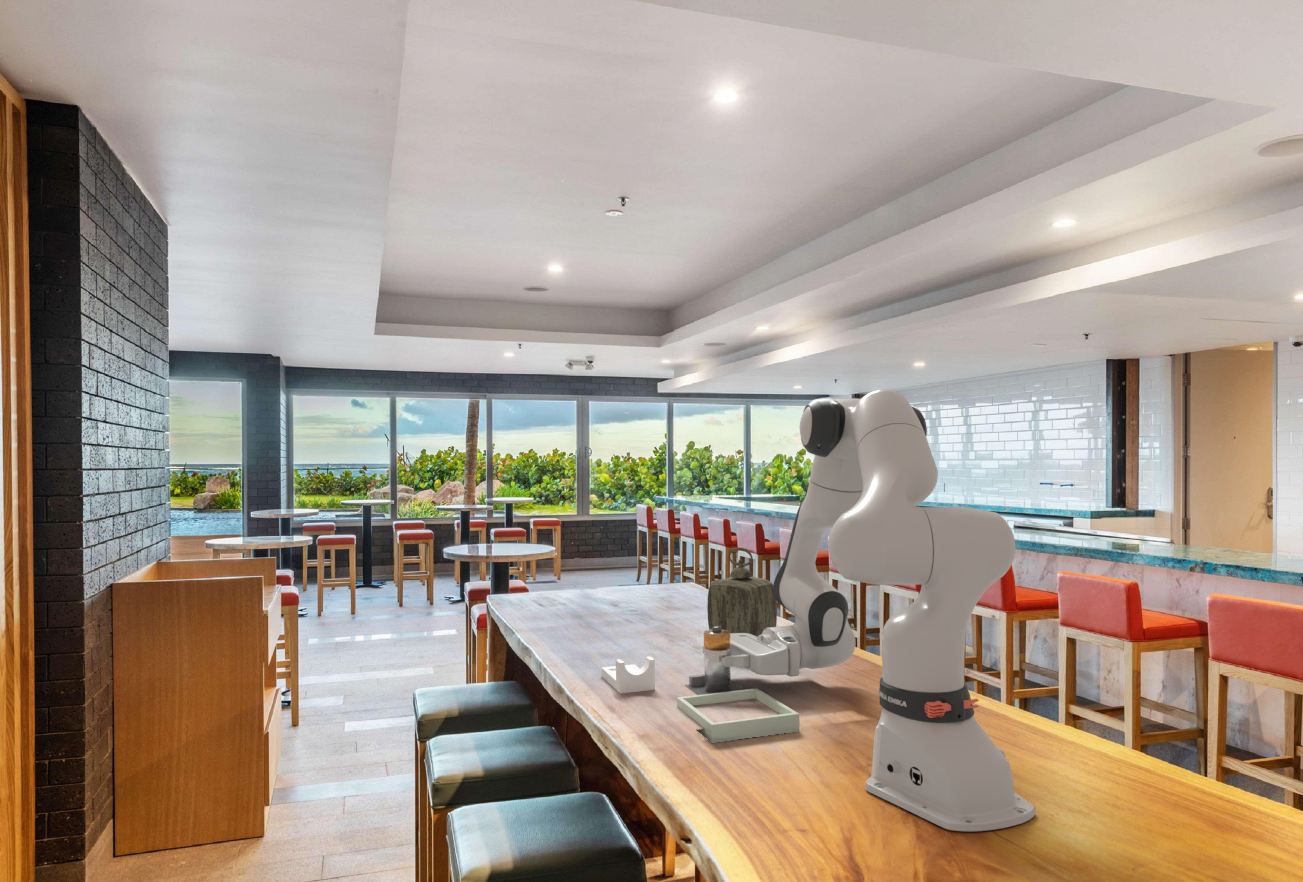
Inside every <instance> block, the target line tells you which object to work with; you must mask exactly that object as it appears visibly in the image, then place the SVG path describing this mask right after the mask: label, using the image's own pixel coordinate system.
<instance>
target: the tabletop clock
mask: <svg viewBox="0 0 1303 882" xmlns="http://www.w3.org/2000/svg"><path fill="white" fill-rule="evenodd" d="M736 551H737V552H738V551H739V552H745V553H747V554H748V555H749V557H750V560H749V561H748V562H745V563H743V562H744V561H743V559H738V561H734V560H733V559H732V558H731V556H732V554H733V552H736ZM753 559H754V558H753V554H752V553H751V552H750V550H749V549H747V548H744V547H735V548H732V549H731V550H730V551H729V553H728V560H729V562H730V563H731V564H733V565H735V566H736V567H733V569H732V570H731V572H730V575H729V577H727V578H721V579H716V580H713V581H712V582H711V584H710V585H709V588H708V592H707V606H706V607H707V608H706V609H707V623H708V624H707V625H708V630H711V629H712V627H713V626H721V627H722V630H728V631H730V633H749V634H752V635H754V636H757V637H758V636H759V635H762V632H763V631H764V629H766V628H768V627H777V622H778V620H777V619H778V618H777V617H778V604H777V603H778V602H777V600H776V599H775V596H774V592H773V585H774V582H772V581H770V580H768V579H765V578H760V577H755V576H752V573H751V571H750V570H749V568H747V566H750V565H751V564H752V563H753Z"/></svg>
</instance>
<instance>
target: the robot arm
mask: <svg viewBox="0 0 1303 882" xmlns="http://www.w3.org/2000/svg"><path fill="white" fill-rule="evenodd" d="M927 429H928V428H927V423H926V419H925V417H924V415H923V413H922V412H921V410H920V409H919V408H916V407H915V406H912V405H911V404H910V402H909V401H908V399H906V397H905V396H904V395H902V394H901V393H899V392H898V391H894V390H892V389H877V390H874V391H871V392H869V393H867V394H865V395H863V397H861V398H855V397H853V398H851V397H850V398H848V397H847V398H845V397H844V398H832V397H829V396H827V397H820V398H815V399H812V400H811V401H810V402H809V403H808V404H806V406H805V407H804V409H803V412H802V415H801V417H800V421H799V434H800V440H801V444H802V446H803V448H804V449H805V450H806V452H808V453H809V454H811V455H814V456H813V461H812V466H811V471H810V475H809V482H808V488H807V491H806V495H805V498H804V499H803V500H802V501H801V503H800V504H799V507H798V509H797V512H796V515H795V517H794V522H793V525H792V526H793V527H792V530H791V534H790V537H789V541H788V545H787V550H786V553H785V557H784V559H783V562H782V564H781V566H780V568H779V570H778V572H777V574H776V576H775V578H774V581H773V592H774V596H775V599H776V602H777V603H778V604H779V605H780V606H782V608H785V610H786V611H788V612H790V613H791V614H792V616H794V617H795V622H794V624H791V625H783V626H776V627H768V628H766V629H764V631H763V632H762V635H759V636H758V637H757V636H754V635H752V634H749V633H730V655H723V656H722V657H721V660H722V661H721V663H722V665H724V666H726V667H729V666H730V667H736V668H737V667H738V668H746V669H748V671H751V672H753V673H754V674H756V675H761V676H783V675H785V676H789V677H798V676H800V670H802V669H808V670H809V669H810V670H816V669H824V668H831V667H835V666H839V665H841V664H844V663H845V662H847V661H849V660H850V659H851V658H852V656H853V654H854V652H855V648H856V635H855V632H854V630H853V629H852V628H851V626H850V624H849V619H848V616H849V605H848V604H849V603H848V600H847V599H846V597H845V596H844V595H843V594H842V593H841V591H839V590H838V589H836V588H835V586H833V585H832V584H831V583H829V582H828V581H827V580H825V579H824V578H823V577H822V576H821V575H820V573H819V571H818V569H817V565H816V560H817V557H818V554H819V550H820V545H821V543H822V538H823V534H824V533H825V531H826V529H828V528H831V530H830V532H829V536H828V553H829V556H830V557H829V558H830V561H831V562H832V564H833V566H834V567H835V570H836V571H837V572H838V573H839V575H840V576H841V577H842V578H844V579H846V580H848V581H854V582H860V583H863V584H865V583H866V584H870V585H877V586H891V585H892V586H896V585H897V586H898V585H899V586H900V585H901V586H902V585H903V586H905V585H906V586H907V585H908V586H909V585H920V586H921V587H920V591H919V593H918V595H917V597H916V598H915V600H914V601H913V602H912V603H911V604H910V605H908V606H907V607H905V608H903V609H901V610H900V609H899V610H898V611H897V612H895V613H893V614H892V615H891V616H890V617H889V618H888V620H886V622H885V623H884V626H883V628H882V631H881V650H882V651H881V655H882V657H881V660H882V663H881V667H882V668H881V669H882V670H881V671H882V677H880V679H879V686H878V697H879V698H878V699H879V705H880V707H881V713H880V717H879V720H878V722H877V725H875V729H874V737H873V747H872V749H873V751H872V763H871V776H870V777H868V779H866V781H865V788H864V789H865V790H866V791H867V792H869V793H870V794H872V795H875V796H877V797H879V798H881V799H882V800H885V801H887V802H889V803H891V804H893V805H896V806H898V807H900V808H902V809H903V810H906V811H908V812H911V813H912V814H914V815H917V816H918V817H920V818H922V819H924V820H926V821H928V822H931V823H932V824H935V825H937V826H939V827H941V828H943V829H945V830H948V831H955V832H983V831H993V830H999V829H1006V828H1009V827H1013V826H1017V825H1021V824H1024V823H1027V822H1028V821H1030V820H1032V819H1033V818H1034V816H1035V815H1036V809H1035V806H1034V805H1033V804H1032V803H1030V802H1029V801H1027V800H1026V799H1025V798H1024V797H1022V796H1021V795H1019V793H1017V792H1016V791H1015V787H1014V785H1015V784H1014V776H1013V772H1012V767H1011V764H1010V762H1009V761H1008V759H1007V758H1006V753H1005V751H1004V750H1003V749H1002V748H1001V747H997V746H996V744H995V743H994V742H993V740H992V739H991V738H990V737H989V735H988V733H986V731H985V730H984V728H983V727H982V726H981V724H980V723H979V722H978V721H977V720H976V717H975V716H974V715H975V710H974V709H976V708H979V707H980V706H979V704H978V705H977V704H976V705H973V704H975V703H977V702H979V699H978V698H974V699H973V698H971V693H970V691H969V689H968V686H967V684H966V682H965V650H966V649H965V648H966V635H967V629H968V625H969V622H970V618H971V616H972V614H973V612H974V610H975V607H976V605H977V604H978V602H979V601H980V599H981V598H982V596H983V595H984V593H985V592H986V591H987V590H988V589H989V588H990V587H991V586H993V584H995V583H996V582H997V581H999V580H1000V579H1001V578H1003V577H1004V576H1005V575H1006V574H1007V572H1009V570H1010V569H1011V566H1012V565H1013V562H1014V559H1015V554H1016V540H1015V537H1014V533H1013V531H1012V530H1013V529H1012V528H1011V527H1010V525H1009V523H1008V522H1007V521H1006V520H1005V519H1004V517H1002V516H1001V515H1000V514H999V513H998V512H995V511H991V510H986V509H981V508H973V507H970V506H969V507H968V506H918V505H921V503H923V502H924V501H925V500H926V499H927V498H928V497H929V496H930V495H931V494H932V493H933V491H934V490H935V488H936V486H937V483H938V476H939V474H938V468H937V467H938V466H937V464H936V461H935V459H934V456H933V453H932V450H931V447H930V445H929V440H928V438H927V436H928V435H927V432H928V431H927ZM702 653H703V654H704V645H703V646H702Z"/></svg>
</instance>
